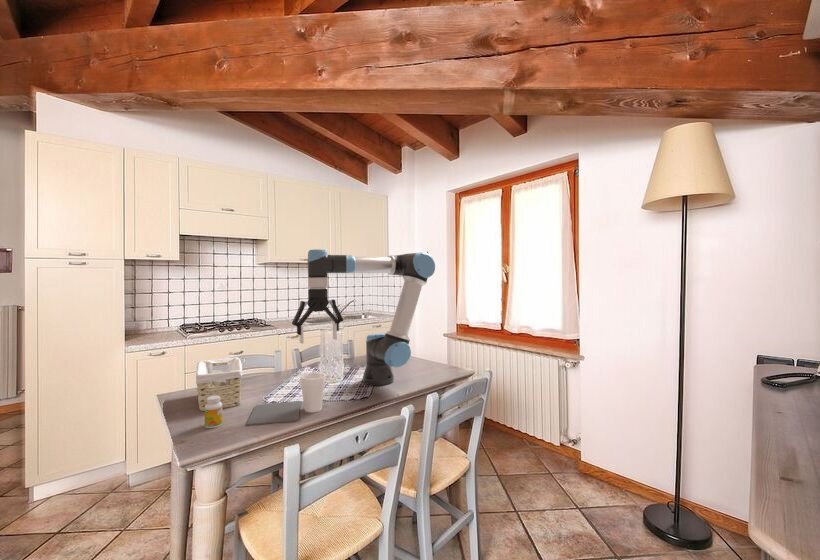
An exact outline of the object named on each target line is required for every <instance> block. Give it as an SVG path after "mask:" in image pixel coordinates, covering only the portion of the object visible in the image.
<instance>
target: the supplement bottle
mask: <svg viewBox="0 0 820 560" xmlns="http://www.w3.org/2000/svg"><path fill="white" fill-rule="evenodd" d="M219 401H220V396H210V397H208V398H207V403H208V404H206V405H205V411H204V427H205V428H206V429H215V428H219V427H221V426H222V425H223V422H224V419H223V408H222V403H221V402H219Z"/></svg>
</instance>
